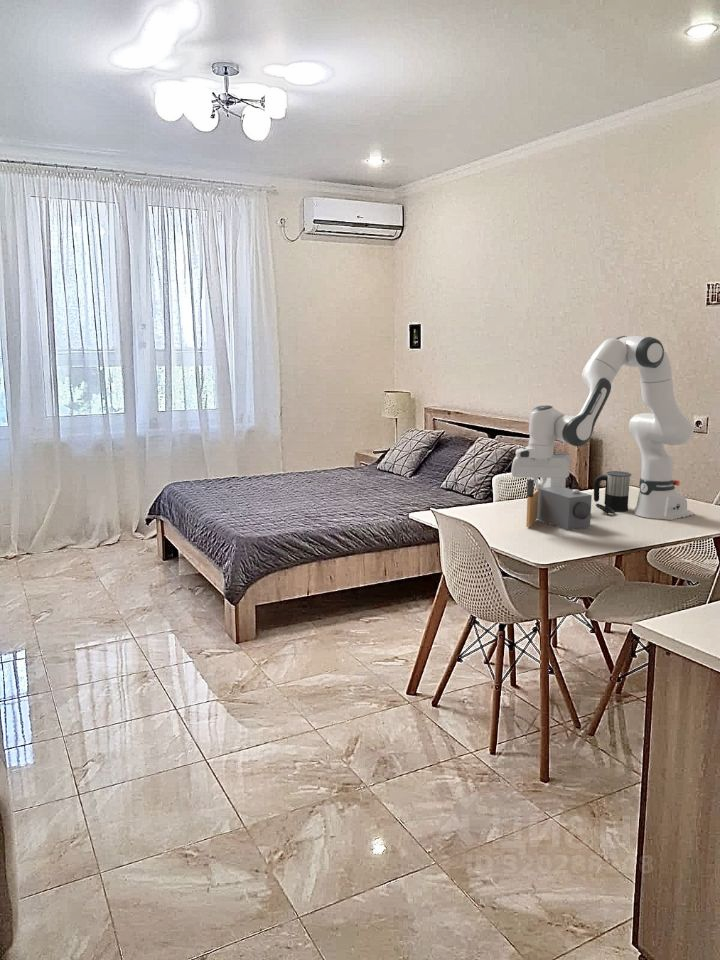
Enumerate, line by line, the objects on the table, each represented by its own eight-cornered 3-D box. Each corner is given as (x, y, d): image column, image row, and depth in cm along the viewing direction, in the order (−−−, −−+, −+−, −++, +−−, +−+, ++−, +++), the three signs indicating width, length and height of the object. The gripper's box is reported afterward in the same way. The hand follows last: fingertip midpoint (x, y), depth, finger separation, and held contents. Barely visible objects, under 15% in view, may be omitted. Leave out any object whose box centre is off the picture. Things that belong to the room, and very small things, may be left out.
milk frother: (625, 506, 308) (628, 470, 305) (635, 516, 293) (638, 478, 290) (589, 506, 310) (591, 470, 307) (597, 515, 294) (599, 477, 292)
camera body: (558, 516, 293) (560, 482, 290) (593, 528, 275) (595, 493, 272) (537, 519, 289) (538, 485, 286) (571, 531, 271) (573, 495, 268)
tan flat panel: (539, 518, 288) (540, 474, 284) (531, 527, 275) (532, 481, 272) (532, 518, 289) (534, 474, 285) (524, 526, 276) (526, 480, 273)
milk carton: (549, 512, 300) (551, 464, 296) (538, 508, 307) (540, 461, 303) (564, 510, 303) (566, 463, 299) (553, 506, 309) (555, 460, 306)
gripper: (569, 450, 273) (568, 488, 276) (511, 449, 276) (510, 487, 278) (572, 453, 267) (570, 491, 270) (512, 452, 269) (511, 490, 272)
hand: (539, 489), depth 274 cm, fingers closed
